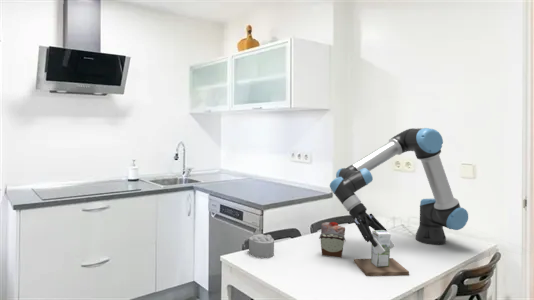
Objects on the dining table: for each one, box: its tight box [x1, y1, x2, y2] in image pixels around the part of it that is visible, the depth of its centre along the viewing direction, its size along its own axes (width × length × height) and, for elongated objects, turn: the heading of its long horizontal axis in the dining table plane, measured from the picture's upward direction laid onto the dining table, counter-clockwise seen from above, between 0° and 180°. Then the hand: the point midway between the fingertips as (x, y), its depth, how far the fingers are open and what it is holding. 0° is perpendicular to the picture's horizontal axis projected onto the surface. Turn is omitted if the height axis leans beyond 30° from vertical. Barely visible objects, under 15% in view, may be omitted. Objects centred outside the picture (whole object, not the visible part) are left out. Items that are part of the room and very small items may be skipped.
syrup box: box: [370, 230, 392, 267], centre depth 156 cm, size 6×6×14 cm
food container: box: [318, 233, 346, 259], centre depth 172 cm, size 12×6×10 cm, turn 71°
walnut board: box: [353, 257, 410, 277], centre depth 156 cm, size 18×16×2 cm
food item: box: [320, 221, 346, 236], centre depth 196 cm, size 14×8×10 cm, turn 35°
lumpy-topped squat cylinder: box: [248, 233, 275, 259], centre depth 173 cm, size 10×13×9 cm
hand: (387, 249), depth 153 cm, fingers open, 9 cm apart
